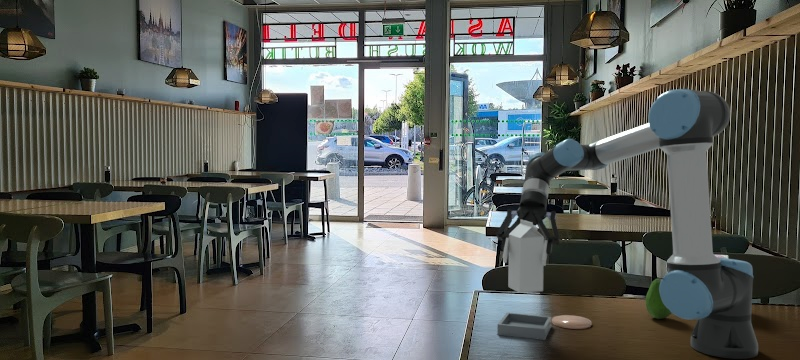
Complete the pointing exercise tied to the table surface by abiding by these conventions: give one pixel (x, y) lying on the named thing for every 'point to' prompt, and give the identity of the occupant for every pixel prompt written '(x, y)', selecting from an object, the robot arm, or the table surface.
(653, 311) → the avocado
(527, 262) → the milk carton
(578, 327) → the peach flat disc
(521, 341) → the table surface
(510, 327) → the square tray
